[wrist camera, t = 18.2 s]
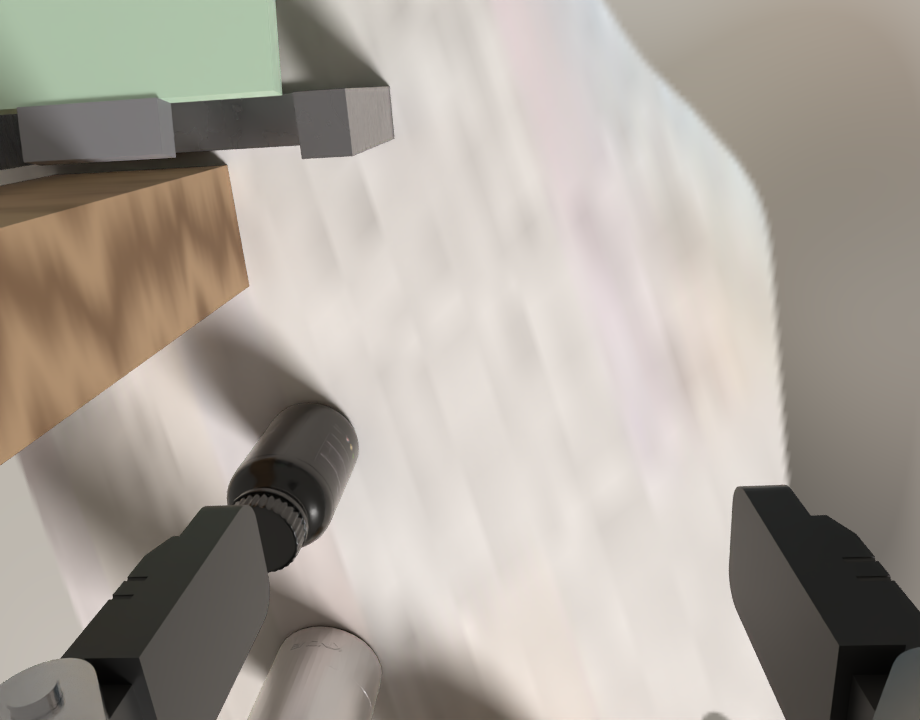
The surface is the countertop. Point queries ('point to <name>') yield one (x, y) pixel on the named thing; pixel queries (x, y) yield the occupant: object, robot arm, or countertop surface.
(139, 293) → the walnut pedestal
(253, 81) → the trapdoor
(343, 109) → the trapdoor frame
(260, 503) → the supplement bottle
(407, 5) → the countertop surface
